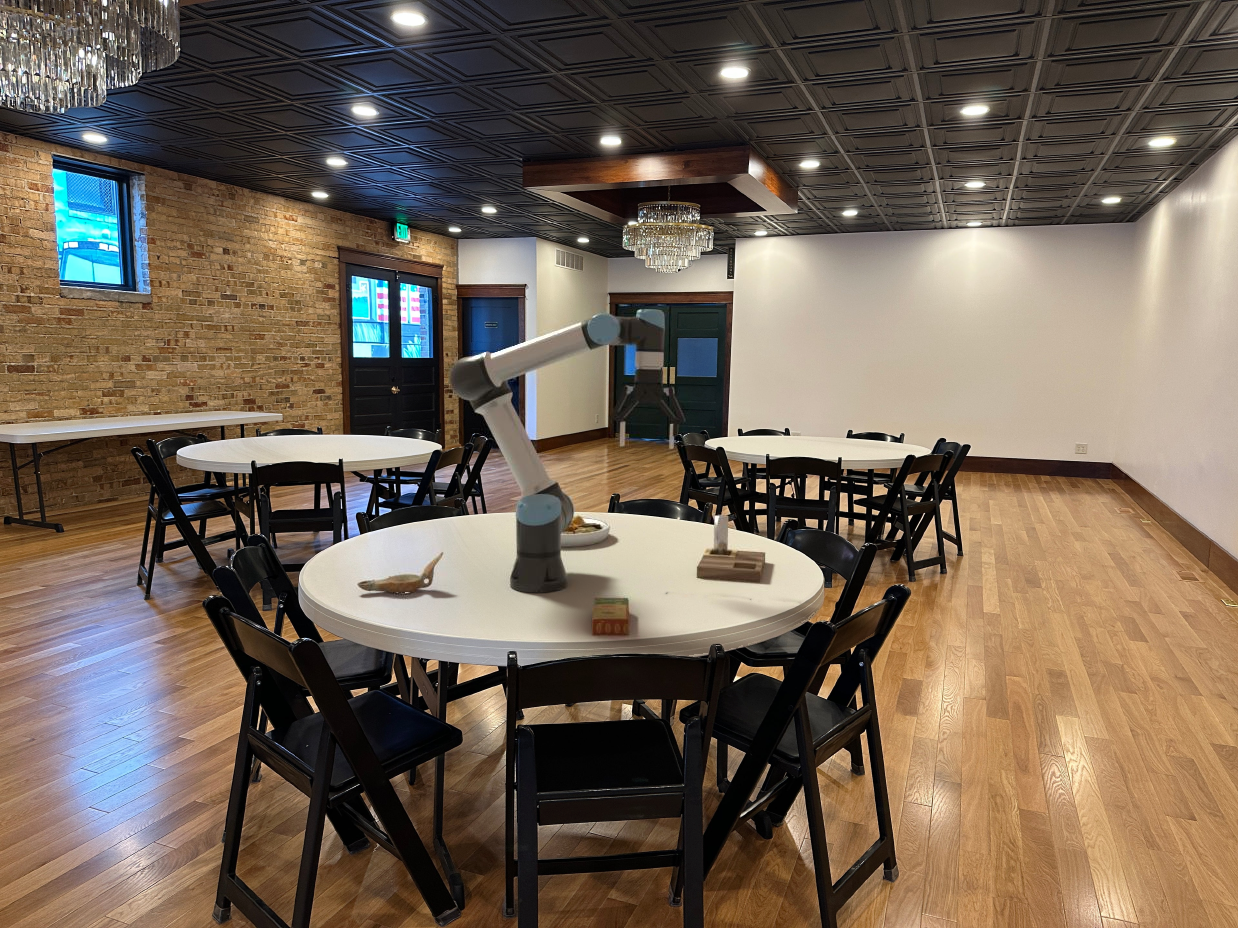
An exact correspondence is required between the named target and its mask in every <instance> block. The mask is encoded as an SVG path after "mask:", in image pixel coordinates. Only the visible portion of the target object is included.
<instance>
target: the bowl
mask: <svg viewBox="0 0 1238 928" xmlns="http://www.w3.org/2000/svg"><path fill="white" fill-rule="evenodd" d="M610 530H611V525H610V523H609V522H607V521H606V520H603V519H599V518H593V517H587V516H580V515H576V516H575V515H574V516H573V519H572V522H571V524H570V525H569V527H568V528H567V529H566V530H565V531H563V532H562V533H561V548H575V547H577V548H578V546H579V547H585V546H591V545H595V543H596V544H598V543H600V542H602V541H604V540H605V539H606V538H607V537H608V535H609V533H610Z"/></svg>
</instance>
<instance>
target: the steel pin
mask: <svg viewBox="0 0 1238 928" xmlns="http://www.w3.org/2000/svg"><path fill="white" fill-rule="evenodd" d="M713 517H714V519H713V521H714V524H713V525H714V527H713V548H714V555H727V554H728V547H729V546H728V543H729V516H728V515H726V514H717V515H714V516H713Z"/></svg>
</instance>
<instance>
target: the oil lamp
mask: <svg viewBox="0 0 1238 928" xmlns="http://www.w3.org/2000/svg"><path fill="white" fill-rule="evenodd" d="M443 555H444V552H443V551H441V552H440V553H439V555H438V556H436V557H435V558H434V559H433V560H432V561H430V562H429V563H428V564H427V565H426V567H425V568H424V570H423V571H422V573H421V574H420V575H417V574H412V573H411V574H410V573H407V574H406V573H405V574H397V575H391V576H388V577H387V578H386V577H385V578H384V579H377V580H376V579H372V580H363V581H362V580H361V581H360V582H358V583H356V584H357V586H358V587H359V588H360V589H361V590H362V591H366V592H383V591H389V592H388V593H393V592H398V593H405V592H412V593H414V592H413V591H415V592H416V591H418V590H419V589H427V588H428V587H430V586H431V585H432V584H433V581H434V573H435V572H434V570H435V567H436V565H438V563H439V561H440V560H441V558H442V557H443ZM425 580H428V582H426V583H425ZM398 593H397V594H398Z"/></svg>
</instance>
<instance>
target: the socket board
mask: <svg viewBox="0 0 1238 928" xmlns="http://www.w3.org/2000/svg"><path fill="white" fill-rule="evenodd" d="M765 563H766V552H763V551H750V550H749V551H748V550H738V549H728V554H727V555H714V547H713V548H711V547H710V548H709V547H707V548H706V550H705V551H704V553H703V555H702V557H701V559H700V561H699V563H697V564H698V565H697V566H696V579H706V580H721V581H722V580H723V581H734V582H736V581H737V582H749V583H761V580H762V575H763V572H764V568H765Z"/></svg>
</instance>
